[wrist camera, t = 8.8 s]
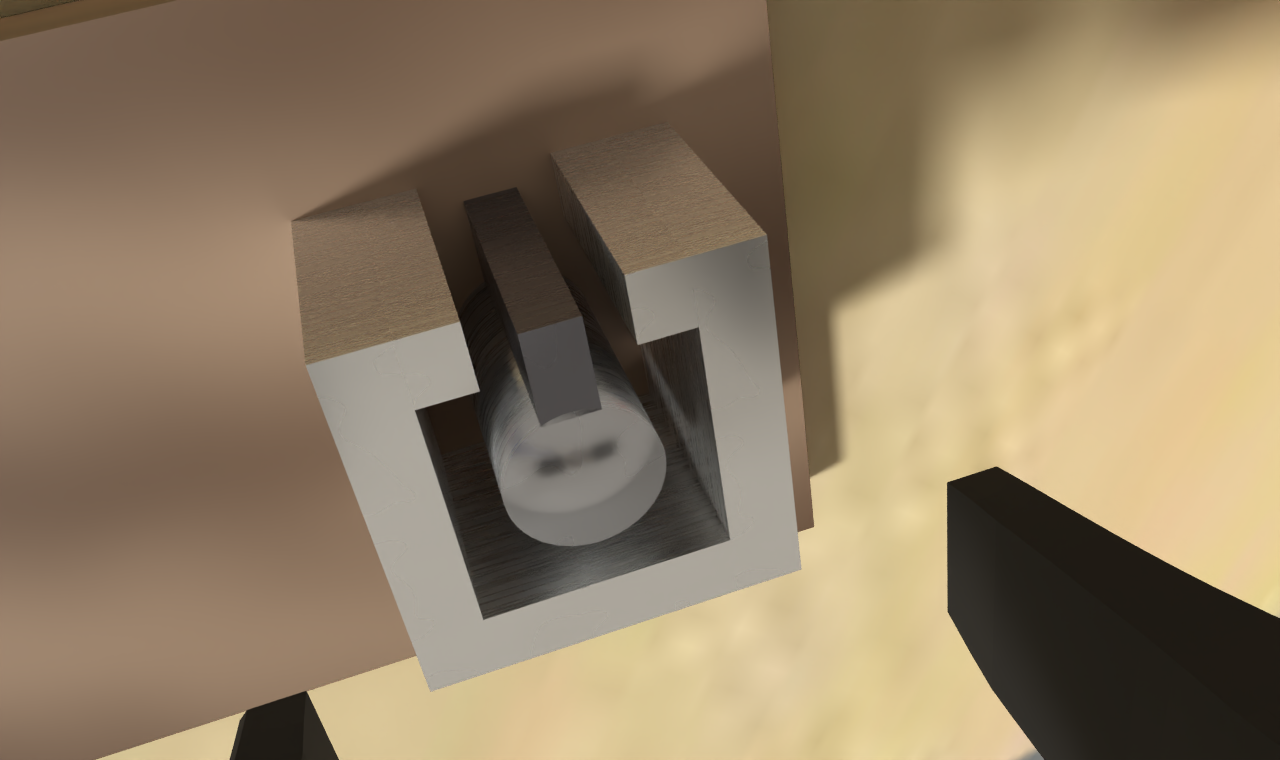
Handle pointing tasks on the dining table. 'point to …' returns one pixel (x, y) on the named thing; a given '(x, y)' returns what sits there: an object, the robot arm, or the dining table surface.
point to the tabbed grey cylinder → (552, 390)
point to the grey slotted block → (464, 478)
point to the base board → (277, 310)
